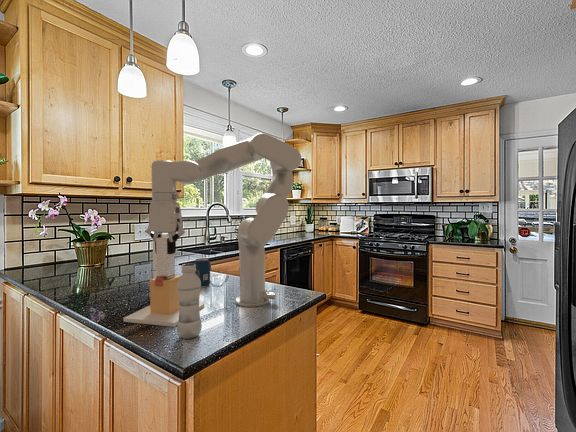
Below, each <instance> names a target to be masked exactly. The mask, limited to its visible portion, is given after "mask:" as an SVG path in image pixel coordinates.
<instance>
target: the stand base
mask: <svg viewBox="0 0 576 432" xmlns="http://www.w3.org/2000/svg"><path fill="white" fill-rule="evenodd" d="M181 276H182V275H175V277H174V278H172V279H169V280H164V277H156V278H151V279H150V280H149V295H150V296H149V298H150V299H149V301H150V303H149V305H147V306H145V307H143V308H141V309H139V310H137V311H134V312H132V313H131V314H129V315H126V316H125V317H123V319H122V320H123V323H124V322H125V323H132V324H143V325H152V326H153V325H155V326H164V327H174V328H175V327H177V326H178V321H179V297H178V291H177V283H178V280H179V279H180V277H181ZM203 308H205V303H202V302H199V311H200V310H202V309H203Z"/></svg>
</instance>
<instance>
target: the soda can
mask: <svg viewBox="0 0 576 432" xmlns="http://www.w3.org/2000/svg"><path fill="white" fill-rule="evenodd" d="M193 264H195V265H196V271H195V274H196V275H197V276H198V277H199V279H200V281H201V288H206V287H208V286H210V284H211V262H210V259H209V258H208V257H202V258H195V260H194V263H193Z"/></svg>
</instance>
